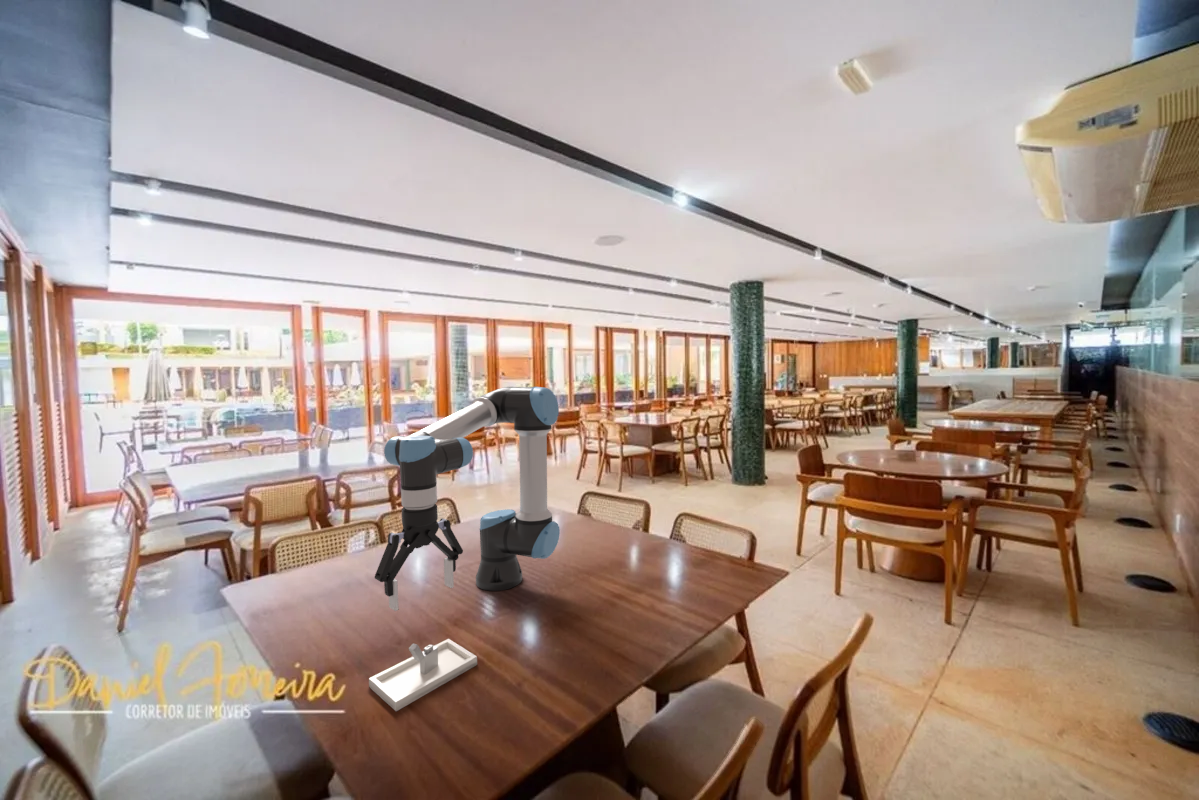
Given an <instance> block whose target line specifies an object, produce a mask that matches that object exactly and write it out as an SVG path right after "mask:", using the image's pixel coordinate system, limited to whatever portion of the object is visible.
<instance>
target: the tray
mask: <svg viewBox="0 0 1199 800" xmlns="http://www.w3.org/2000/svg"><path fill="white" fill-rule="evenodd" d="M434 646H436V647H438V666H436V667H435V668H434V669H432V670H431V671H430V672H428V673H427V674H425V675H424V674H422V673H420V662H419V661H417V660H415V659H414V657H413V656H411V657H408V658H407V659H405V660H403V661H401V662H399V663H397V664H395V665H393V666H391V667H389V668H387V669H385V670H382V671H381V672H379V673H376V674H375V675H373V676H370V677H369V678H368V687H369V688H370V689H371V690H372V691H373V692H374V693H375V694H376V695H377V696H379V697H380V699H382V700H383V702H385V703H386V704H388V706H390V707H391V709H393V710H394V711H395V712H398V711H399V710H401V709H403V708H404V707H407V706H408V705H410V704H411V703H413V702H415V701H417V700H418V699H420V698H422V697H424V696H426V695H427V694H429V693H431V692H432V691H434V690H436V689H438V688H439V687H442V686H443V685H444V684H446V683H448V682H449V681H452V680H453V679H455V678H457V677H458V676H460V675H462V674H463V673H465V672H468V671H469V670H471V669H473V668H474V667H476V666H477V665H478V656H477V655H475V654H474V653H473V652H470V651H469V650H467V649H466V648H464V647H463V646H461V645H460V644H457V643H456V641H455V642H454V641H453V640H451V639H450V638H447V639H445V640H443V641H441V642H439V643H436V644H435V645H434ZM422 652H424V650H422Z"/></svg>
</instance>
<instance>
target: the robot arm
mask: <svg viewBox="0 0 1199 800" xmlns="http://www.w3.org/2000/svg"><path fill="white" fill-rule="evenodd" d="M559 407H560V406H559V402H558V399H557V397H556V395H555V394H554V392H553V391H552V390H551V389H550V388H548V387H544V386H543V387H541V386H504V387H501V388H497V389H494V390H492V391H489V392H487V393H485V394H483V395H480V396H479V397H477V398H475V399H474V400H473V401H472V402H471V403H470V405H468V406H465V407H464V408H461V409H459V410H458V411H456V412H454V413H452V414H450V415H448V416H446V417H444V418H441V419H440V420H438V421H436V422H434V423H432V424H430V425H427V426H426V427H424V428H422V429H419V430H418V431H416V432H414V433H413V432H412V433H411V434H409V435H407V436H404V435H400V436H399V435H398V436H393V437H391V438H390V439H388V440H387V442H386V443H385V446H384V451H383V452H384V457H385V459H386V461H387V463H389V464H390V465H393V466H399V473H400V498H401V501H400V502H401V506H402V508H401V520H402V521H401V524H402V530H401V532H398V533H397V532H395V533H394V532H393V531H392V532H389V533H388V536H387V544H386V547H385V549H384V552H383V555H382V557H381V560H380V561H379V564H378V566H377V569H376V572H375V574H374V579H375V580H376V581H378V582H380V583H384V585H383V587H384V594H385V596H387V597H388V607H389V609H391V610H393V611H394V612H396V611H399V585H398V584H399V583H398V579H396V577H397V575H398V574H399V572H400V570H401V568H402V567H403V565H404V564H405V562H406V561H407V560H408V557H409V556H410V554H411V553H413V552H414V550H415V549H420V548H422V547H424V546H426V547H427V546H430V544H431V543H432V544H433V545H434V546H435V547H436V548H437V549H438V550H439V551H440V552H441V553H443V555H444V556H446V557H445V558H443V575H444V576H443V577H444V580H443V581H444V586H446V587H448V588H450V589H452V588H454V585H455V583H454V582H455V581H454V579H455V578H454V572H456V570H457V569H456V568H457V567H456V566H457V565H456V563H457V562H456V561H457V560H458V559H459V555H462V554H463V552H464V550H463V548H462V546H461V544H460V543H459V541H458V539H457V537H456V535H455V533H454V532H453V529H452V528H451V521H450V520H449V519H446V518H443V517H442V518H440V519H439V521H438V518H439V515H438V513H439V512H438V505H437V502H438V491H437V490H438V489H437V475H439V474H444V473H447V472H450V471H454V470H460V469H461V468H463V467H466V466H468V465H469V464H471V461H472V460H473V457H474V449H473V445H472V444H471V442H470V441H469V440H468V439H467V438H466V437H467V436H469V435H471V434H472V433H474V432H476V431H477V430H479V429H481V428H483V427H486V428H488V427H491V426H493V425H494V424H503V423H504V424H505V423H507V424H508V423H509V424H514V425H513V429H514V431H515V433H517V434H518V438H519V443H518V444H519V447H518V448H519V451H518V452H519V505H520V506H519V508H520V509H519V510H518V512H517V513H516V510H514V509H499V510H494V511H491V512H488V513H486V514H484V515H482V516H481V517H480V520H479V539H480V541H479V542H480V562H479V565H478V569H477V572H476V575H475V585H476V587H478V588H479V589H481V590H484V591H489V592H490V591H491V592H495V591H496V592H497V591H505V590H509V589H512V588H515V587H516V586H518V585H519V584H521V582H522V581H523V570H522V568H521V565H520V563H519V560H518V556H522V557H527V558H532V559H539V560H540V559H542V560H543V559H548V558H549V557H550V556H551V555H552V554H553V553H554V552H555V549H556V548H557V545H558V543H559V539H560V534H561V533H560V530H561V529H560V526H559V524H558V522H556V521H553V513H552V512H551V511H550V509H548V451H547V450H548V443H547V442H548V441H547V440H548V439H547V438H548V433H550V431H551V430H552V425H554V424H556V422H557V420H558V417H559V411H560V409H559ZM439 530H441V532H442V534H443V536H444V538H445V539H446V541H447V543H448V545H449V546H447V544H446V543H444V542H443V541H442V539H441V538H440V537H439V536H438V535H436V534H437V532H438V531H439ZM402 539H403V541H402ZM401 542H402V543H401ZM399 544H401V545H399ZM399 546H400V548H399V550H398V547H399ZM449 547H450V548H449ZM397 550H398V552H397Z"/></svg>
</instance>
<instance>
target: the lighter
mask: <svg viewBox="0 0 1199 800" xmlns="http://www.w3.org/2000/svg"><path fill="white" fill-rule="evenodd" d="M408 650H409V652H410V654H411V657H414V659H415V660H417V661H419V662H420V673H422V674H424V675H425V674H427V673H428V672H430V671H431V670H432V669H434V668H435V667H436V666H438V647H436V646H435V645H434V644H428V645H426V646H425V647H424V648H423V650H422V649H421V648H420V646H419V645H418V644H416V643H412V644H411V645H410V646H409V647H408ZM423 651H424V652H423Z"/></svg>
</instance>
